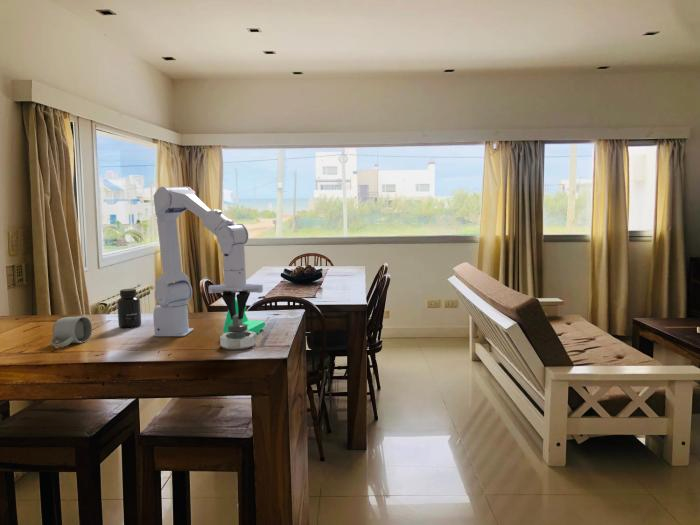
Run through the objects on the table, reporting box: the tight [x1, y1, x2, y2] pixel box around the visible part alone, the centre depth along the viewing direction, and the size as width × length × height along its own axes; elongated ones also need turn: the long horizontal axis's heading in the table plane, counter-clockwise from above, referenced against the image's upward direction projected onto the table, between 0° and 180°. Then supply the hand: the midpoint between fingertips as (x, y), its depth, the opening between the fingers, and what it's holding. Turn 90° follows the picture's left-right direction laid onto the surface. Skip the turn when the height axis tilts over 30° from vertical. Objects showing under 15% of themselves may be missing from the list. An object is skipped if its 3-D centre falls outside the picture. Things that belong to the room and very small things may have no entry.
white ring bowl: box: [219, 331, 257, 351], centre depth 150 cm, size 9×9×3 cm
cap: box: [228, 314, 248, 332], centre depth 150 cm, size 5×5×4 cm
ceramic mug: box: [50, 315, 93, 348], centre depth 157 cm, size 11×8×8 cm
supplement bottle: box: [116, 288, 142, 330], centre depth 175 cm, size 7×7×12 cm
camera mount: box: [223, 298, 266, 335], centre depth 163 cm, size 12×8×10 cm, turn 162°
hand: (237, 318), depth 150 cm, fingers closed on cap
